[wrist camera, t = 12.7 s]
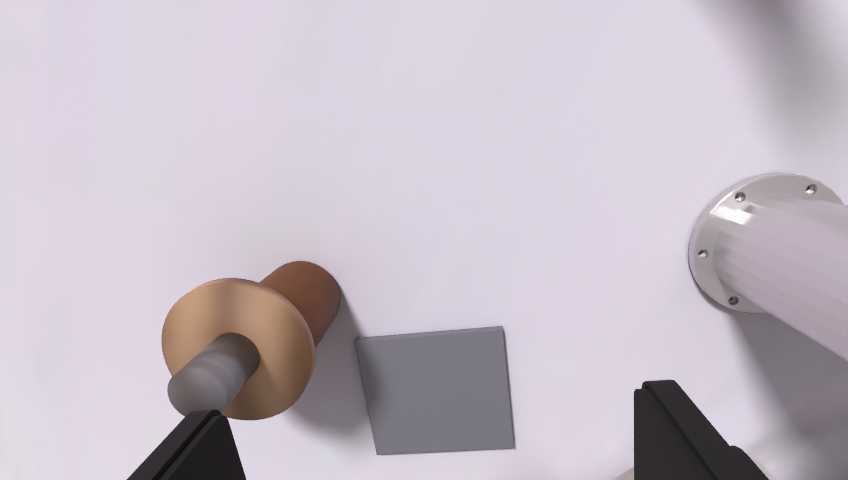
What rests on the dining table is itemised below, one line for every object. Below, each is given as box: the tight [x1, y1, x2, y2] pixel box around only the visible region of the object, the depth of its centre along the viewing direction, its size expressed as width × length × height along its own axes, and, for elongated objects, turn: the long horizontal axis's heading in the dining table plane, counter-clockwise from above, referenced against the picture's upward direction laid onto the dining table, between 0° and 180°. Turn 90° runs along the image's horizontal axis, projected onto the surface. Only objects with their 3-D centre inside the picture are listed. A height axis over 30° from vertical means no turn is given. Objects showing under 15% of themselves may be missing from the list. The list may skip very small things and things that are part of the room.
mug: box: [259, 261, 340, 348], centre depth 38 cm, size 12×8×9 cm, turn 109°
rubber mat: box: [355, 326, 514, 455], centre depth 44 cm, size 15×14×1 cm
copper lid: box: [162, 278, 315, 420], centre depth 31 cm, size 12×12×6 cm
